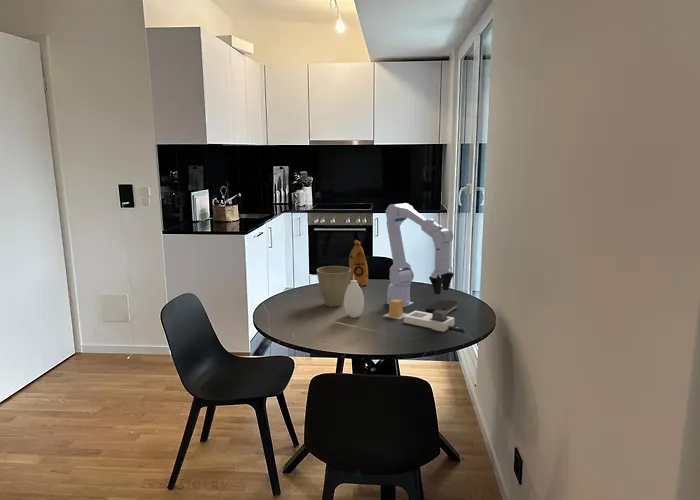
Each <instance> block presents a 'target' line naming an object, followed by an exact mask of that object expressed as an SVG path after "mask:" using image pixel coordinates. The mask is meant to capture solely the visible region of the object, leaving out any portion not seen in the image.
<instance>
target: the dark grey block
mask: <svg viewBox="0 0 700 500" xmlns="http://www.w3.org/2000/svg"><path fill="white" fill-rule="evenodd" d="M447 316H448V313H447V311H444V310H438V309H437V310H435V311H433V312H432V320H434V321H440V322H444V321H446V320H447Z"/></svg>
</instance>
